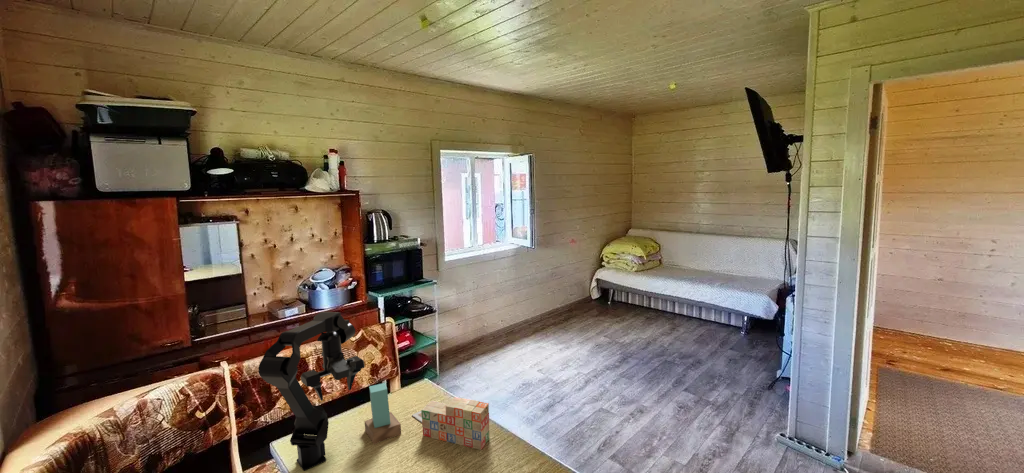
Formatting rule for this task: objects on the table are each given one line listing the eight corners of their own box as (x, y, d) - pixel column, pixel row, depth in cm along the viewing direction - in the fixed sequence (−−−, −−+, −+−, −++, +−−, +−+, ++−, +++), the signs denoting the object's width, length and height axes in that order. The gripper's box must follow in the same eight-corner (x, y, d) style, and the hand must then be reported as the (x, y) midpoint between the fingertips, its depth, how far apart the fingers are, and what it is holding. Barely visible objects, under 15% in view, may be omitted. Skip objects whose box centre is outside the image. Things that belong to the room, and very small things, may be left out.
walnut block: (373, 445, 135) (373, 433, 135) (365, 432, 142) (364, 420, 142) (401, 435, 140) (400, 423, 140) (391, 422, 148) (390, 411, 147)
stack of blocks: (422, 436, 139) (420, 400, 137) (432, 425, 145) (430, 391, 143) (481, 450, 131) (480, 412, 129) (490, 438, 137) (489, 402, 135)
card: (423, 423, 146) (422, 422, 146) (412, 415, 151) (411, 414, 151) (446, 412, 153) (446, 410, 153) (435, 404, 158) (435, 403, 158)
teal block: (374, 428, 137) (370, 392, 136) (372, 420, 142) (369, 386, 140) (390, 423, 139) (387, 388, 138) (388, 416, 144) (384, 382, 142)
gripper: (311, 366, 126) (315, 415, 128) (370, 347, 139) (374, 392, 141) (298, 356, 134) (302, 402, 136) (355, 339, 147) (359, 382, 149)
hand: (335, 395), depth 140 cm, fingers open, 9 cm apart
